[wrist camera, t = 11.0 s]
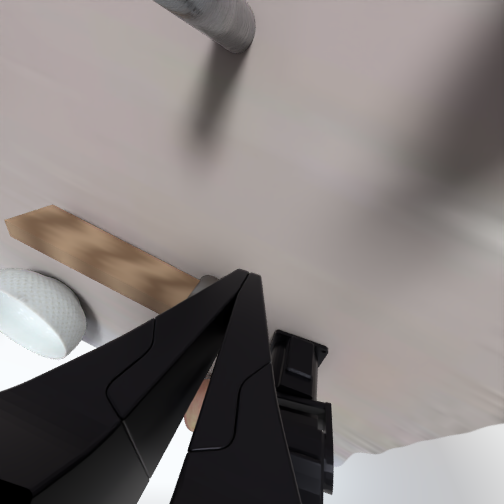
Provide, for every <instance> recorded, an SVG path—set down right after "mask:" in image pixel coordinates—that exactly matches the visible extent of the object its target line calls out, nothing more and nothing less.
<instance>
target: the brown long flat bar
mask: <svg viewBox="0 0 504 504" xmlns="http://www.w3.org/2000/svg"><path fill="white" fill-rule="evenodd" d="M5 223H6V226H7V228H8V231H9V234H10V236H11V237H13V238H15V239H17V240H19V241H20V242H22V243H24V244H26V245H28V246H30V247H32V248H34V249H36V250H38V251H40V252H42V253H43V254H45V255H47V256H49V257H51V258H53V259H55V260H57V261H59V262H61V263H63V264H65V265H66V266H68V267H70V268H72V269H74V270H76V271H78V272H80V273H82V274H84V275H86V276H88V277H89V278H91V279H93V280H95V281H97V282H99V283H101V284H103V285H105V286H107V287H109V288H110V289H112V290H114V291H116V292H118V293H120V294H122V295H124V296H126V297H128V298H130V299H132V300H133V301H135V302H137V303H139V304H141V305H143V306H145V307H147V308H149V309H151V310H153V311H155V312H156V313H158V314H161V313H163V312H165V311H166V310H168V309H170V308H172V307H173V306H175V305H177V304H178V303H180V302H182V301H184V300H185V299H187V298H189V297H190V296H192V295H194V294H196V293H197V292H199V291H201V290H202V289H204V288H206V287H208V286H209V285H211V284H213V283H214V282H216V281H218V279H217V278H215V277H213V276H210V275H206V276H203V277H202V278H201V279H200V280H198V279H196V278H194V277H192V276H190V275H188V274H186V273H184V272H183V271H181V270H179V269H177V268H175V267H173V266H171V265H169V264H167V263H165V262H163V261H161V260H159V259H157V258H155V257H153V256H151V255H150V254H148V253H146V252H144V251H142V250H140V249H138V248H136V247H134V246H132V245H130V244H128V243H126V242H124V241H122V240H120V239H118V238H117V237H115V236H113V235H111V234H109V233H107V232H105V231H103V230H101V229H99V228H97V227H95V226H93V225H91V224H89V223H87V222H86V221H84V220H82V219H80V218H78V217H76V216H74V215H72V214H70V213H68V212H66V211H64V210H62V209H60V208H58V207H56V206H54V205H50V206H47V207H44V208H41V209H38V210H34V211H31V212H28V213H25V214H22V215H19V216H16V217H13V218H10V219H7V220H5Z"/></svg>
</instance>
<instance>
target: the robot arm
mask: <svg viewBox="0 0 504 504" xmlns="http://www.w3.org/2000/svg"><path fill="white" fill-rule="evenodd" d="M217 354H218V356H217ZM327 354H328V348H327V347H326V346H323V345H320V344H317V343H314V342H312V341H309V340H306V339H303V338H301V337H298V336H295V335H292V334H289V333H287V332H284V331H281V330H276V332H275V334H274V337H273V339H272V342H271V345H270V344H269V336H268V328H267V320H266V312H265V304H264V296H263V288H262V280H261V276H260V275H258V274H255V273H249V272H248V271H245V270H242V269H237V270H235V271H233V272H232V273H230V274H228V275H227V276H225V277H223V278H221V279H220V280H218V281H216V282H214V283H213V284H211V285H209V286H208V287H206V288H204V289H202V290H201V291H199V292H197V293H196V294H194V295H192V296H190V297H189V298H187V299H185V300H184V301H182V302H180V303H178V304H177V305H175V306H173V307H172V308H170V309H168V310H166V311H165V312H163V313H161V314H160V315H158V316H156V317H155V319H154V318H153V319H151V320H149V321H147V322H146V323H144V324H142V325H140V326H139V327H137V328H135V329H133V330H131V331H130V332H128V333H126V334H124V335H122V336H120V337H118V338H116V339H114V340H112V341H110V342H108V343H106V344H104V345H102V346H100V347H98V348H96V349H94V350H92V351H90V352H88V353H86V354H84V355H82V356H80V357H77V358H75V359H73V360H71V361H69V362H67V363H65V364H63V365H61V366H58V367H57V368H54V369H52V370H50V371H48V372H46V373H44V374H42V375H40V376H37V377H35V378H33V379H31V380H29V381H27V382H24V383H22V384H20V385H17V386H14V387H12V388H9V389H7V390H4V391H1V392H0V504H137V502H138V500H139V499H140V497H141V495H142V493H143V491H144V489H145V488H146V486H147V484H148V482H149V478H151V476H152V474H153V472H154V471H155V469H156V467H157V465H158V463H159V462H160V460H161V458H162V456H163V454H164V452H165V450H166V449H167V447H168V445H169V443H170V441H171V439H172V438H173V436H174V434H175V432H176V430H177V428H178V426H179V424H180V423H181V421H182V419H183V417H184V415H185V414H186V412H187V410H188V408H189V406H190V404H191V402H192V401H193V399H194V397H195V395H196V393H197V391H198V390H199V388H200V386H201V384H202V382H203V380H204V378H205V377H206V375H207V373H208V371H209V369H210V367H211V366H212V364H213V362H214V360H215V358H216V356H217V359H216V362H215V365H214V369H213V372H212V375H211V378H210V381H209V384H208V387H207V391H206V394H205V397H204V400H203V403H202V406H201V410H200V413H199V416H198V419H197V422H196V425H195V428H194V432H193V435H192V438H191V441H190V444H189V447H188V453H187V454H186V457H185V460H184V463H183V466H182V469H181V472H180V475H179V478H178V481H177V484H176V487H175V490H174V493H173V496H172V498H171V501H170V504H323V492H325V493H328V494H331V495H332V492H333V432H332V411H331V403H328V402H325V403H323V402H319V401H317V374H318V367H319V366H320V364H321V363H322V361H323V360H324V358H325V357H326V355H327ZM322 430H323V431H322Z"/></svg>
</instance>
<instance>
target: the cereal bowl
mask: <svg viewBox="0 0 504 504" xmlns="http://www.w3.org/2000/svg"><path fill="white" fill-rule="evenodd" d="M86 325H87V323H86V318H85V314H84V311H83V309H82V308H81V304H80V301H79V299H78V297H77V296H76V295H75V293H74V292H73V291H72V290H71V289H70V288H69V287H67V286H66V285H65V284H63V283H62V282H60V281H59V280H57V279H54V278H51V277H46V276H44V275H42V274H39V273H37V272H33V271H29V270H25V269H14V268H11V269H1V270H0V332H1V333H3V334H4V335H6V336H7V337H9V338H10V339H11V340H13V341H14V342H16V343H18V344H19V345H21V346H23V347H24V348H26V349H28V350H30V351H32V352H34V353H36V354H38V355H41V356H43V357H47V358H50V359H63V358H65V357H66V356H67V355H68V354H70V352H71V351H72V350H73V349H74V348H75V347H76V346H77V345H78V344H79V342H80V341H81V340H82V338H83V336H84V334H85V331H86Z"/></svg>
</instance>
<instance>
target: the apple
mask: <svg viewBox="0 0 504 504" xmlns="http://www.w3.org/2000/svg"><path fill="white" fill-rule="evenodd" d="M209 381H210V379H205V380H203V382H202V384H201V386H200V388H199V390H198V391H197V393H196V395H195V397H194V399H193V401H192V402H191V404H190V406H189V408H188V410H187V412H186V414H185V415H184V420H185V424H186V426H187V428H188V429H189V430H190V431H192V432H194V428H195V425H196V422H197V419H198V416H199V413H200V410H201V406H202V403H203V400H204V397H205V394H206V391H207V387H208V384H209Z"/></svg>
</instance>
